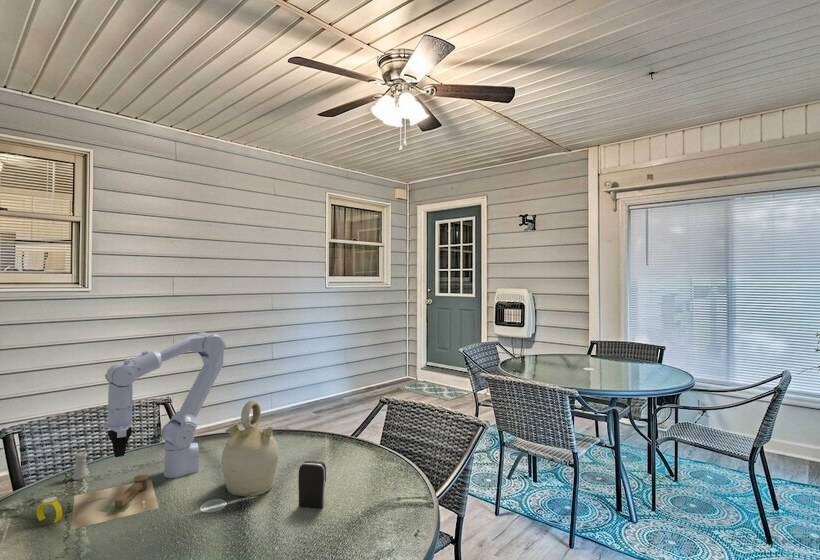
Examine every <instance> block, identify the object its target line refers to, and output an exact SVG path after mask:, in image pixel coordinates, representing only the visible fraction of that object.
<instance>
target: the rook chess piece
mask: <svg viewBox="0 0 820 560" xmlns="http://www.w3.org/2000/svg"><path fill="white" fill-rule="evenodd" d="M87 457H88V454H87V451H79V452H76V453H75V456H74V457H73V458H74V460H75V461H74V463H75V467H74V471H73V474H72V475H71V479H72V480H73V481H81V480H85V479H87V478H88V477H89V476H90V471H89V470H88V469H87V461H88V460H87Z"/></svg>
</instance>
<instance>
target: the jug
mask: <svg viewBox="0 0 820 560" xmlns="http://www.w3.org/2000/svg"><path fill="white" fill-rule="evenodd" d="M251 410H252V418H251V420H250V413H251ZM261 413H262V412H261V406H260V404H259V403H258V402H257V401H254V400H250V401H248V402H246V403H245V404H244V405H243V407H242V410H241V414H240V421H241V425H242V427H243V428H244V429H243V430H241V429H239V423H238V422H236V423H234V424H233V425H231V426H229V427H227V429H225V431H224V432H226V433H227V434H229V435H230V437H229V440H228V441H226V444H225V445H224V447H223V449H222V454H221V466H222V467H221V468H222V473H223V474H222V475H223V479H224V482H225V486H226V487H225V488H226V489H227V491H228V493H229V494H231V495H234V496H243V497H241V498H243V499H245V497H247V498H252V497H257V495H258V496H261V495H264V494H266V493H268V492H269V491H270V490H271V489H272V487H273V485H274V480H275V478H276V477H275V476H276V472H277V467H278V462H279V446H278V443H277V441H276V439H275V437H274V436H273V430H274V428H273V426H269V427H267V428H264V429H261V428H259V426H258V425H259V424H260V420H261ZM267 491H268V492H267ZM265 492H266V493H265ZM260 494H261V495H260Z"/></svg>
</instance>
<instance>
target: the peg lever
mask: <svg viewBox="0 0 820 560" xmlns="http://www.w3.org/2000/svg"><path fill="white" fill-rule="evenodd" d="M147 480H149V475H148V474H138V475H136V476H134V478H133V481H134V482H132V483H133V484H132V483H131V484H132V485H131V486H130V487H129V488H128V489H127V490H126V491H125V492H124V493H123V494H122V495H121V496H119V497H118V498H117V499H116V500H115V508H121V507H123V506H124V505H125V504H126V503H127V502H128V501H130V500H131V499H132V498H133V497H134V496H135V495H136V494H137V493H138V492H141V491H144V490H146V489H147Z"/></svg>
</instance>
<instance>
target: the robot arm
mask: <svg viewBox="0 0 820 560" xmlns="http://www.w3.org/2000/svg"><path fill="white" fill-rule="evenodd" d="M226 346H227V345H226V343H225V341H224V339H223V337H222V336H221V335H219V334H217V333H208V332H206V331H200V332H198V333H196V334H192V335H189V336H186V338H184V339H182V340H179V341H177V342H175V343H173V344H171V345H169V346H167V347H165V348H163V349H161V350H159V351H154V350H149V351H148V350H143V351H141V354H140V355H138V356H135V357H132V358H130V359H128V358H127V359H124V360H123V363H120V362H119V363H118V362H117V363H115V364H112V365H111V366H110V367H109V368H108V369H107V371H106V372H105V374H104V377H105V380H106V381H107V383H108V393H107V423H104V424H102V429H104V430H105V429H108V430H107V437H108V439H109V440H110V441H111V444H112V449H113V453H114V454H113V455H114V457H115V458H120V457H124V456H125V454H126V449H127V446H128V443H129V442H128V441H129V440H130V437H131V435H132V434H133V430H132V429H133V427H132V426H133V425H134V421H133V390H134V389H133V383H134V382H135V381H136V379H138V378H141V377H143V376H145V375H147V374H150V373H152V372H154V371H155V370H158V369H160V368H161V366H162V364H163V362H166V361H168V360H170V359H173V358H175V357H178V356H180V355H183V354H185V353H188V352H196V353H198V354H199V356H200V358H201V360H202V363H203V366H202V367H201V369H200V370H199V373H198V374H197V377H196V379H195V380H194V382H193V384H192V386H191V388H190V390H189V392H188V393H187V396H186V398H185V399H184V401H183V403H182V404H181V407H180V409H179V411H177V412H176V413H175V414H173V415H172V416H171V418H170V420H169V421H168V422H167V423H165V425H164V426H163V427H162V428H161V431H160V433H161V434H160V436H161V438H162V439H163V440H164V441H165V443H164V445H163V451H164V452H163V453H164V454H163V476H164V477H165V478H168V479H175V478H180V477H184V476H187V475H191V474H196V473H199V470H200V469H199V468H200V464H199V462H200V449H199V448H200V447H199V444H198V442H194V439H195V436H196V434H195V433H196V429H197V427H198V421H197V416H198V415H199V413H200V411H201V408H202V407H203V405H204V403H205V401H206V399H207V398H208V395H209V393H210V391H211V389H212V387H213V385H214V383H215V381H216V380H217V377H218V376H219V374H220V372H221V369H222V368H223V367H224V366H223V365H224V359H225V358H224V355H225V354H224V352H225V349H226Z"/></svg>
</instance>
